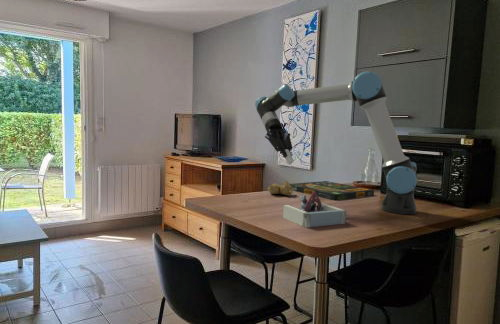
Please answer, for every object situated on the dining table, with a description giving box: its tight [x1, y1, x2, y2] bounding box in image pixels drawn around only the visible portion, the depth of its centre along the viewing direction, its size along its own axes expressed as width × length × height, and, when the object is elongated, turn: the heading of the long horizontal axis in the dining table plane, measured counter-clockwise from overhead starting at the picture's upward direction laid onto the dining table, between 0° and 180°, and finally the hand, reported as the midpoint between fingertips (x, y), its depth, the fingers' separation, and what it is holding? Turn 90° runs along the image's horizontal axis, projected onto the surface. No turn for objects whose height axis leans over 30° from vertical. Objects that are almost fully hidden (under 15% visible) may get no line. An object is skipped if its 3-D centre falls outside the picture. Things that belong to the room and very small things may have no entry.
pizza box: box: [289, 180, 375, 201], centre depth 216 cm, size 35×35×4 cm
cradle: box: [282, 202, 347, 228], centre depth 147 cm, size 15×19×5 cm
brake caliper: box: [299, 192, 325, 212], centre depth 151 cm, size 11×11×12 cm
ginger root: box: [267, 180, 294, 197], centre depth 201 cm, size 16×16×8 cm
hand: (290, 162), depth 163 cm, fingers closed
